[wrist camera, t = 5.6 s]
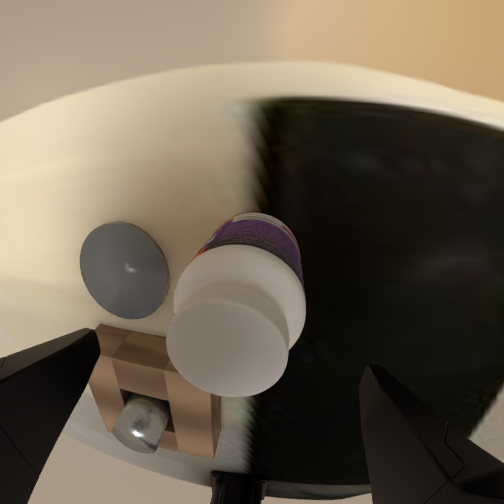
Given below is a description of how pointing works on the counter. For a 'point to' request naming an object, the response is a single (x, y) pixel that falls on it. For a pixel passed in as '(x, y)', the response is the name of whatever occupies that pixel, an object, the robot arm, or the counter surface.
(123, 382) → the socket block
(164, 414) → the plug
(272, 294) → the pill bottle
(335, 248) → the counter surface
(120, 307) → the coaster
